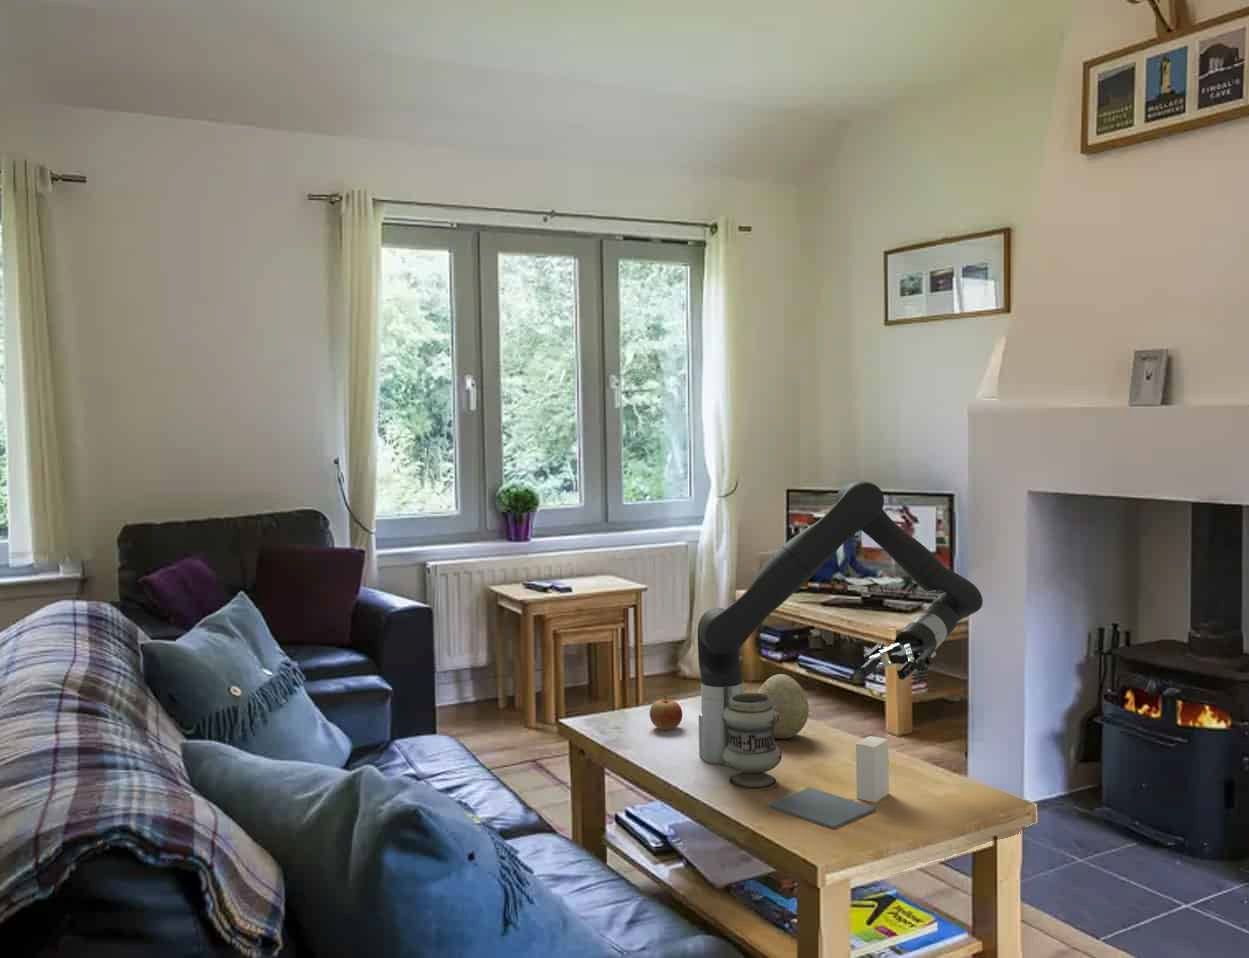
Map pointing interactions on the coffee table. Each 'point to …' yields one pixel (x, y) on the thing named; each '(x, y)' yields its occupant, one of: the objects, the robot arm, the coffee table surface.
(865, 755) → the tall cream pillar block
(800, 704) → the fossilized egg
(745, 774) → the apothecary jar
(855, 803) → the mat
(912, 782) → the coffee table surface
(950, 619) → the robot arm
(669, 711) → the apple
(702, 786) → the coffee table surface
